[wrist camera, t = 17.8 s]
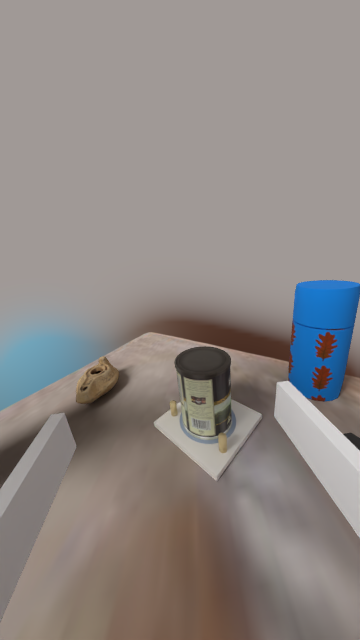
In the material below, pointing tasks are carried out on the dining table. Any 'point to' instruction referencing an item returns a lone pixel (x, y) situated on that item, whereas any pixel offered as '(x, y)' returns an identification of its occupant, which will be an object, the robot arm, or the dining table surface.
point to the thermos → (322, 336)
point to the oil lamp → (96, 381)
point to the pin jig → (210, 452)
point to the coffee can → (205, 391)
